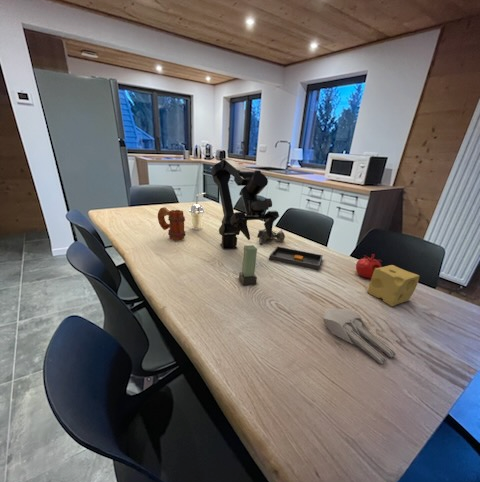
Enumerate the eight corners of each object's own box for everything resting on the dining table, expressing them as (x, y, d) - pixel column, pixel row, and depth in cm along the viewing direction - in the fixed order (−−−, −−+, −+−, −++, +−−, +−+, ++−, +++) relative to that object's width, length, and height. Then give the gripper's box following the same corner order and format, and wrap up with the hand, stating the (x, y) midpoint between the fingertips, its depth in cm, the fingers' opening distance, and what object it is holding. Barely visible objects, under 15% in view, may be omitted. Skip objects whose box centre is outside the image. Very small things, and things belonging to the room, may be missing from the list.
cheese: (392, 307, 87) (402, 280, 83) (365, 291, 96) (372, 267, 91) (410, 301, 92) (421, 275, 88) (383, 287, 100) (391, 263, 96)
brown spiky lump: (290, 240, 133) (267, 223, 128) (276, 255, 137) (253, 240, 132) (285, 232, 143) (264, 216, 138) (272, 246, 147) (251, 231, 142)
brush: (243, 285, 94) (246, 250, 88) (238, 279, 98) (241, 245, 92) (256, 284, 95) (259, 249, 89) (251, 278, 99) (254, 244, 94)
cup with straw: (189, 226, 153) (189, 190, 145) (205, 226, 155) (205, 191, 146) (188, 230, 146) (188, 193, 137) (205, 231, 147) (205, 194, 138)
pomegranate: (350, 274, 108) (355, 253, 104) (359, 268, 115) (364, 248, 111) (374, 283, 103) (382, 261, 98) (382, 276, 109) (389, 255, 105)
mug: (189, 238, 134) (189, 209, 128) (181, 243, 127) (180, 212, 121) (164, 233, 138) (163, 205, 132) (155, 238, 131) (153, 208, 125)
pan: (268, 260, 115) (269, 255, 114) (276, 251, 127) (277, 246, 125) (318, 271, 109) (319, 265, 108) (321, 260, 120) (322, 255, 119)
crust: (293, 260, 116) (294, 257, 116) (295, 257, 119) (295, 254, 119) (301, 262, 115) (302, 258, 114) (302, 259, 118) (303, 256, 117)
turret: (372, 374, 63) (381, 361, 60) (313, 319, 76) (318, 307, 74) (394, 359, 68) (403, 346, 66) (335, 310, 81) (340, 298, 79)
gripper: (236, 190, 91) (246, 232, 89) (281, 189, 99) (291, 228, 96) (225, 205, 101) (234, 243, 98) (267, 203, 109) (276, 239, 106)
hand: (260, 238), depth 100 cm, fingers open, 9 cm apart
